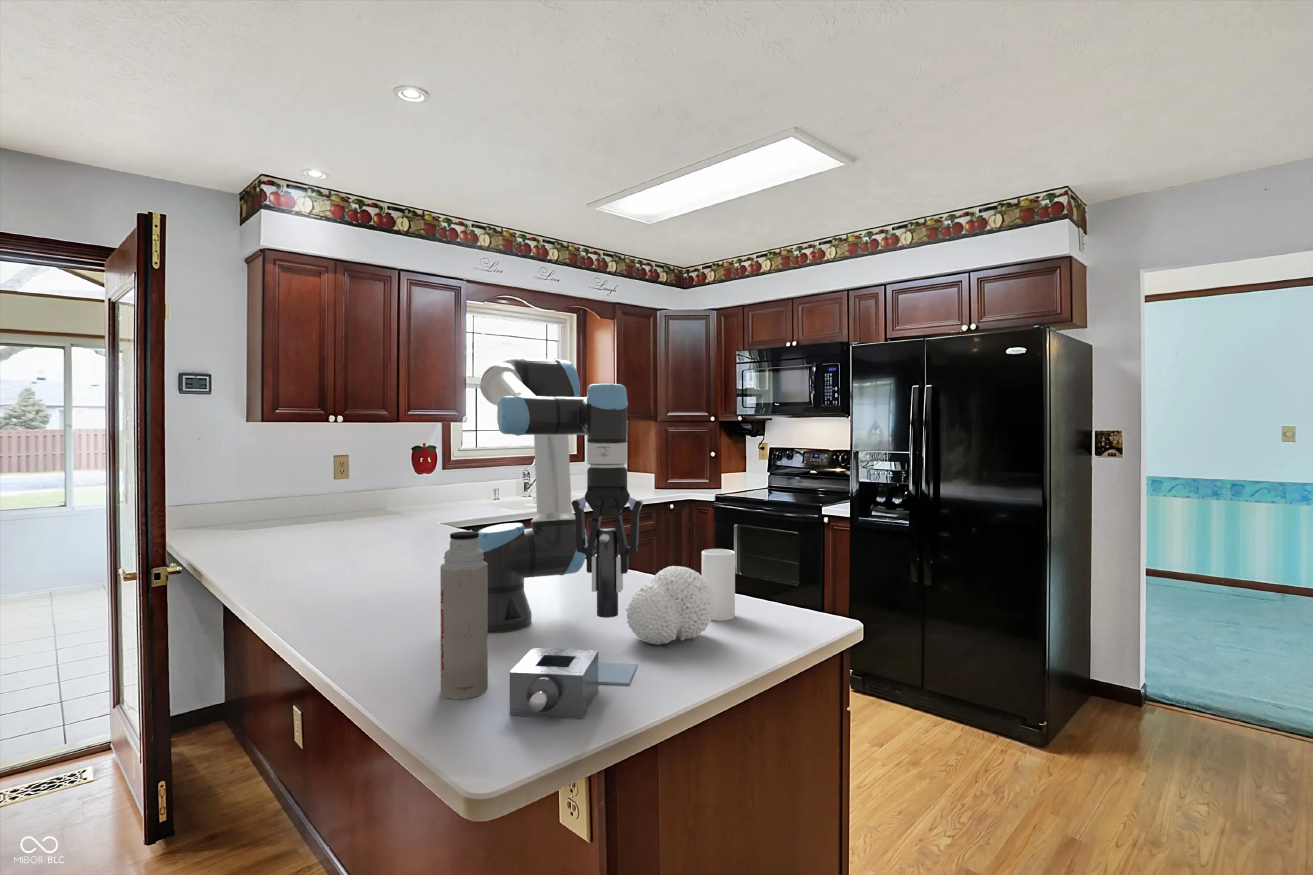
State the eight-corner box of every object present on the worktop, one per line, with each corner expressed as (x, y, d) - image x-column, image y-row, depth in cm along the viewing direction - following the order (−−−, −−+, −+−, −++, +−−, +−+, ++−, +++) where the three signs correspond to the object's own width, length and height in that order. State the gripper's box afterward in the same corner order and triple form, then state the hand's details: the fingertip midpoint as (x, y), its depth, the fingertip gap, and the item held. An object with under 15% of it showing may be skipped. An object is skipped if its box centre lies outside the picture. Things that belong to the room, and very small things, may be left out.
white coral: (683, 584, 162) (680, 539, 151) (733, 632, 151) (733, 587, 140) (616, 631, 153) (608, 587, 143) (664, 685, 142) (659, 641, 132)
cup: (733, 621, 161) (733, 555, 161) (699, 619, 162) (699, 554, 162) (736, 612, 169) (736, 549, 169) (703, 610, 170) (703, 548, 170)
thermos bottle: (435, 700, 114) (435, 536, 113) (446, 682, 122) (446, 529, 121) (483, 698, 114) (483, 535, 114) (491, 681, 122) (490, 528, 122)
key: (600, 609, 129) (600, 527, 129) (621, 610, 129) (621, 527, 129) (593, 619, 122) (592, 532, 122) (614, 620, 122) (614, 532, 122)
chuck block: (498, 728, 103) (498, 683, 103) (532, 686, 119) (532, 647, 119) (574, 733, 101) (574, 687, 101) (598, 690, 118) (598, 650, 118)
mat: (574, 682, 122) (574, 680, 122) (587, 663, 132) (587, 661, 132) (629, 685, 120) (629, 682, 120) (637, 665, 130) (637, 663, 130)
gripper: (557, 466, 123) (558, 593, 123) (649, 467, 121) (649, 596, 121) (568, 465, 130) (568, 584, 130) (654, 465, 128) (654, 586, 128)
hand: (607, 589), depth 126 cm, fingers closed on key, 4 cm apart
